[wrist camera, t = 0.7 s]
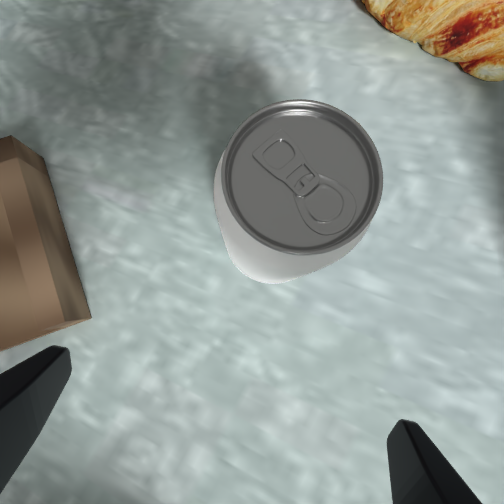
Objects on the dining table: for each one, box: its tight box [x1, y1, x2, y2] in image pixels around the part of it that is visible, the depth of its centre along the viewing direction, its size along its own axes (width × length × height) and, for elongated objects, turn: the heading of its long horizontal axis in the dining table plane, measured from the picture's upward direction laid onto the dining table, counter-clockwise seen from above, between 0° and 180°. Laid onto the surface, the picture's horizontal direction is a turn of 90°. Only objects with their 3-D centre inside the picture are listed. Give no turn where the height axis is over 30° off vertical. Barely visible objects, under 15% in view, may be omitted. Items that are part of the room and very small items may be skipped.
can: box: [214, 99, 383, 284], centre depth 17 cm, size 6×6×12 cm
